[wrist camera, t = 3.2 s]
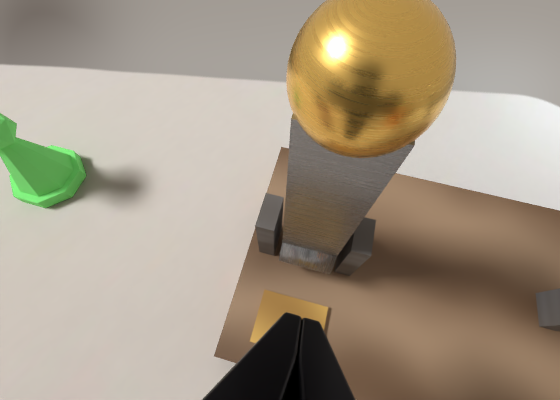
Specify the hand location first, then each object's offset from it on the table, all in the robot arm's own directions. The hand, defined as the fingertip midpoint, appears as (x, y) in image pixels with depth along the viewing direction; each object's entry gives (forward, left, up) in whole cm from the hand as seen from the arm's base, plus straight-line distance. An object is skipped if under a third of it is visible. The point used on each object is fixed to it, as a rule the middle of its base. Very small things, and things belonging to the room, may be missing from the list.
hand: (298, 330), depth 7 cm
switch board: (0, -8, -10) cm, 13 cm away
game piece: (+13, +12, -10) cm, 21 cm away
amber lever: (+4, -2, -7) cm, 9 cm away
